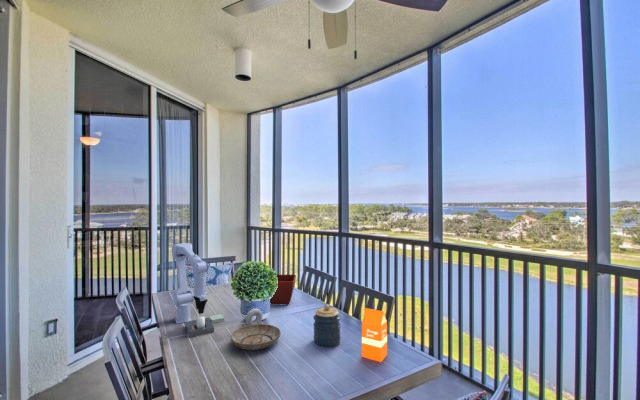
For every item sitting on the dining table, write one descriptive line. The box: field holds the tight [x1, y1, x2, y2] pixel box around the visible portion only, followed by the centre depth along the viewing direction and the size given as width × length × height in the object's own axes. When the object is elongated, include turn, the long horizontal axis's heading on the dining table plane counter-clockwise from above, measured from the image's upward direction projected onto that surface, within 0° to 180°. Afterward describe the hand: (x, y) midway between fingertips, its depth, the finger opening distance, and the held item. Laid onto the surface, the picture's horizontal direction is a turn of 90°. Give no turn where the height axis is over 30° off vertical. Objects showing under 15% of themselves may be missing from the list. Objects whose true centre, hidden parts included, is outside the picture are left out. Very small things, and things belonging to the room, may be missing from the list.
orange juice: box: [361, 307, 388, 363], centre depth 131 cm, size 8×9×20 cm
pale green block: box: [208, 313, 225, 325], centre depth 171 cm, size 7×7×2 cm
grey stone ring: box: [245, 308, 263, 326], centre depth 162 cm, size 10×4×10 cm, turn 135°
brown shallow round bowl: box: [230, 323, 281, 351], centre depth 143 cm, size 23×24×5 cm
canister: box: [313, 304, 341, 348], centre depth 144 cm, size 13×13×18 cm
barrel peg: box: [196, 315, 206, 329], centre depth 157 cm, size 4×4×7 cm
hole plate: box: [184, 317, 215, 338], centre depth 159 cm, size 16×12×3 cm
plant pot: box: [269, 274, 297, 305], centre depth 204 cm, size 19×19×17 cm
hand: (199, 311), depth 157 cm, fingers open, 7 cm apart
